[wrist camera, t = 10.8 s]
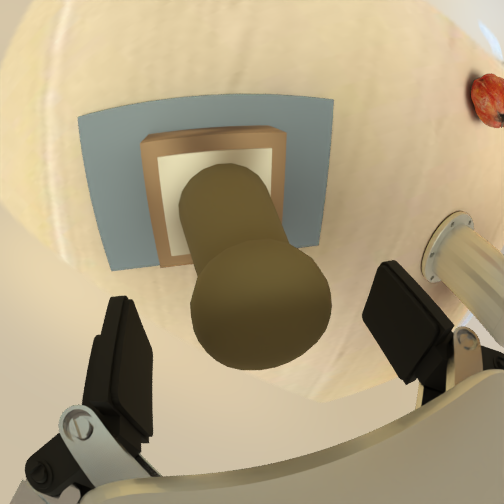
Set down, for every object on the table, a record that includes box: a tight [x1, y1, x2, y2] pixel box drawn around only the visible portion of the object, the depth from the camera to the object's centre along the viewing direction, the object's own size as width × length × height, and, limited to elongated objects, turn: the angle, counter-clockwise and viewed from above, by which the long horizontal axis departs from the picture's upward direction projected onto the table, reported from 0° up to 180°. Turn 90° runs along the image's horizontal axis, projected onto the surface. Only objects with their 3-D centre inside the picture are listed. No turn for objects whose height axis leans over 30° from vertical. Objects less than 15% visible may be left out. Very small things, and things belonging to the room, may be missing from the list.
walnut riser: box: [140, 125, 287, 268], centre depth 19 cm, size 9×9×4 cm
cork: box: [178, 163, 332, 370], centre depth 13 cm, size 6×6×11 cm
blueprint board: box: [78, 94, 334, 271], centre depth 21 cm, size 20×14×1 cm
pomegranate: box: [471, 74, 504, 128], centre depth 18 cm, size 7×7×10 cm
